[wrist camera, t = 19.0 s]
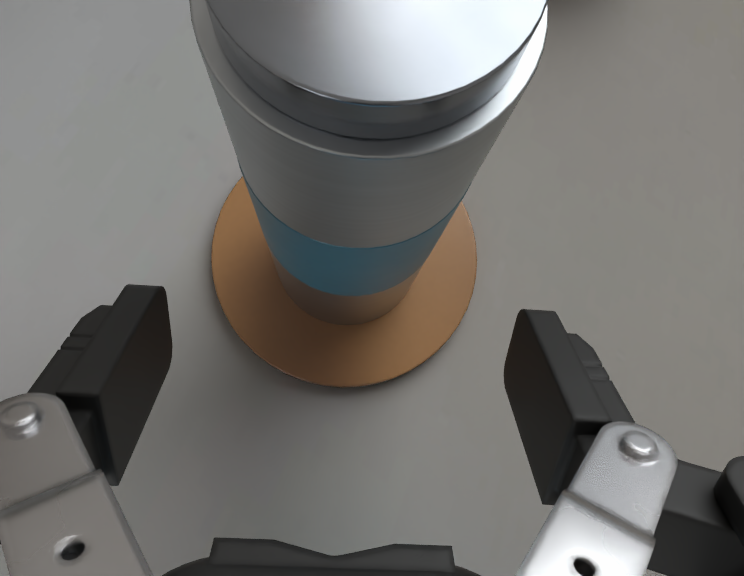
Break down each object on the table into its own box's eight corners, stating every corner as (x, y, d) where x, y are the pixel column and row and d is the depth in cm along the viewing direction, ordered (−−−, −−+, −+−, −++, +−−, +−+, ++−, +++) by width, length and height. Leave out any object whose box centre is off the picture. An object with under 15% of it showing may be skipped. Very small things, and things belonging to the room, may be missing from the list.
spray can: (418, 194, 25) (568, -195, 9) (415, 329, 23) (584, 142, 8) (281, 185, 24) (195, -236, 9) (269, 321, 23) (143, 109, 7)
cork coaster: (474, 146, 26) (477, 140, 25) (473, 394, 24) (477, 393, 23) (227, 128, 25) (225, 121, 25) (199, 380, 23) (196, 379, 22)
